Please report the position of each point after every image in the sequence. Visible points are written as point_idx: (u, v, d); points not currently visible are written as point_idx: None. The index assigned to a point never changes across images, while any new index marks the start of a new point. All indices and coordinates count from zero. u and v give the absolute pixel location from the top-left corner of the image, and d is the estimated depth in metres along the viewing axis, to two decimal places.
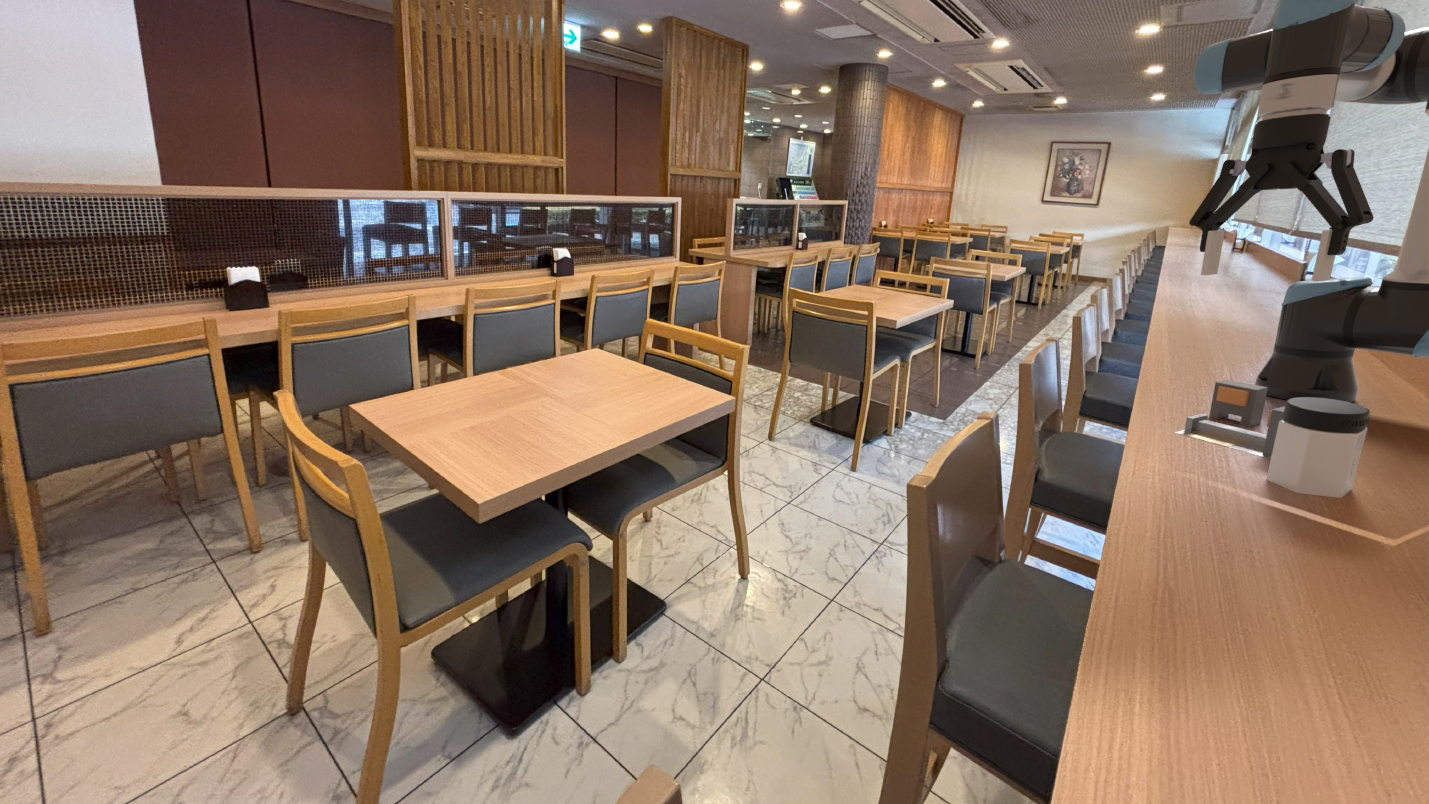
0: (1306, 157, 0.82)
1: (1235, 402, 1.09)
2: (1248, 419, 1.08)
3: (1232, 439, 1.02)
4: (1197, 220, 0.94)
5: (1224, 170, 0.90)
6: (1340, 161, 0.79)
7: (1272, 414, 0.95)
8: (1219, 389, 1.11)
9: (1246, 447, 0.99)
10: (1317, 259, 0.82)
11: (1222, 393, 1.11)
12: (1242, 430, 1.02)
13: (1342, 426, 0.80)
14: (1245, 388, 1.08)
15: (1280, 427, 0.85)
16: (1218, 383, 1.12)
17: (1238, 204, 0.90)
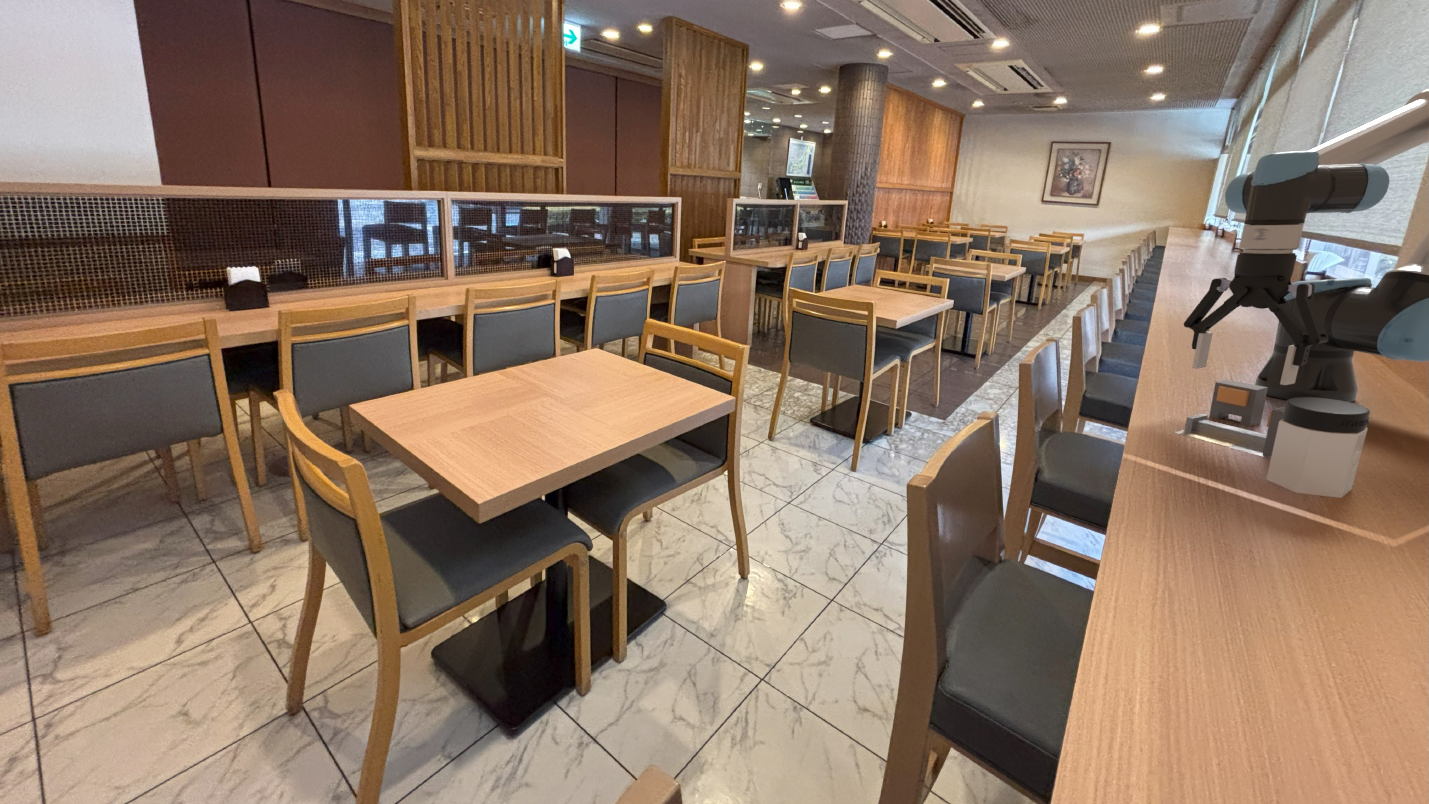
0: (1277, 286, 1.02)
1: (1235, 402, 1.09)
2: (1248, 419, 1.08)
3: (1232, 439, 1.02)
4: (1190, 323, 1.15)
5: (1212, 286, 1.11)
6: (1303, 293, 0.99)
7: (1272, 414, 0.95)
8: (1219, 389, 1.11)
9: (1246, 447, 0.99)
10: (1284, 367, 1.02)
11: (1222, 393, 1.11)
12: (1242, 430, 1.02)
13: (1342, 426, 0.80)
14: (1245, 388, 1.08)
15: (1280, 427, 0.85)
16: (1218, 383, 1.12)
17: (1223, 314, 1.11)
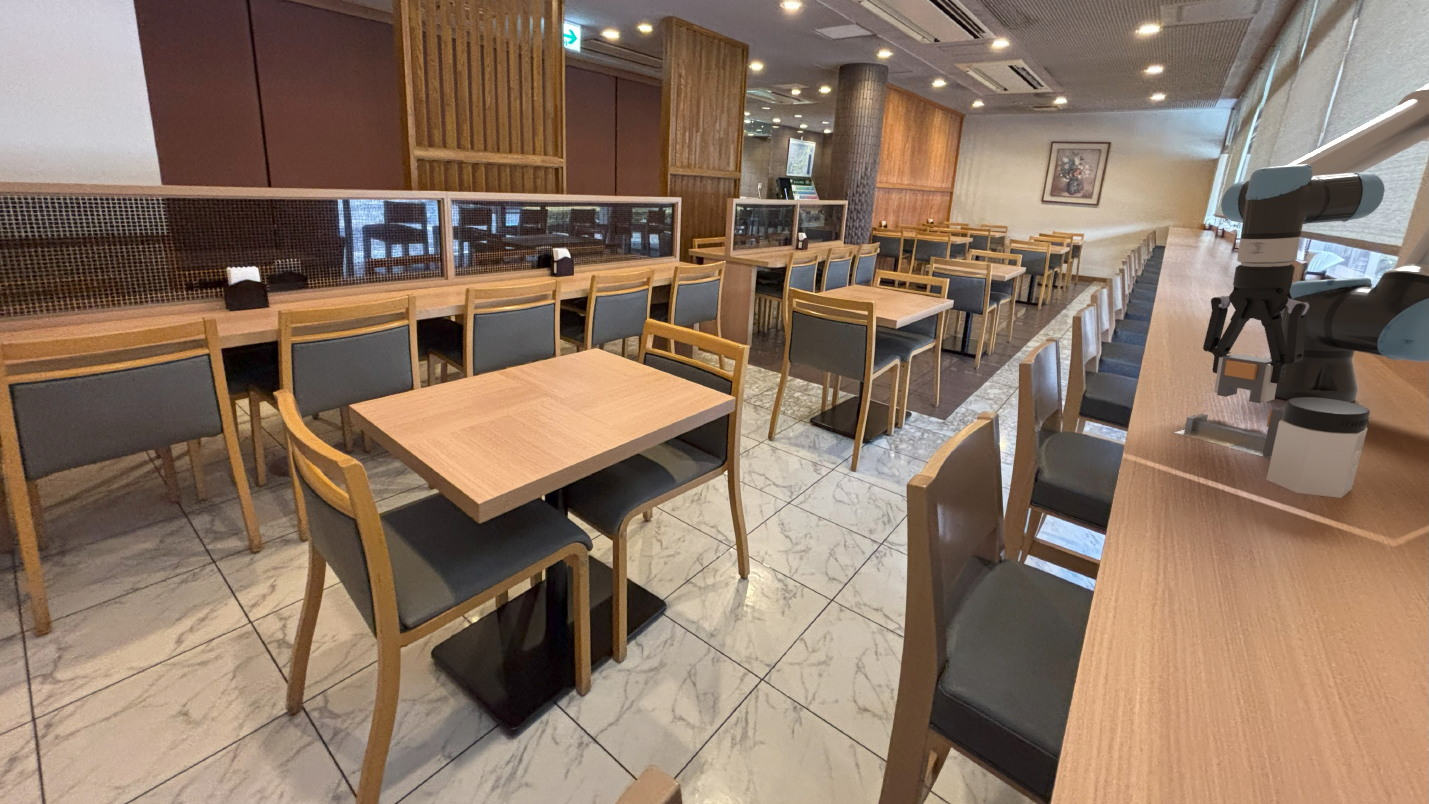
0: (1277, 298, 1.03)
1: (1244, 376, 1.08)
2: (1257, 392, 1.07)
3: (1232, 439, 1.02)
4: (1209, 346, 1.13)
5: (1214, 305, 1.11)
6: (1297, 313, 1.00)
7: (1272, 414, 0.95)
8: (1227, 363, 1.10)
9: (1246, 447, 0.99)
10: (1263, 385, 1.06)
11: (1230, 367, 1.10)
12: (1242, 430, 1.02)
13: (1342, 426, 0.80)
14: (1253, 361, 1.07)
15: (1280, 427, 0.85)
16: (1226, 357, 1.11)
17: (1236, 332, 1.10)
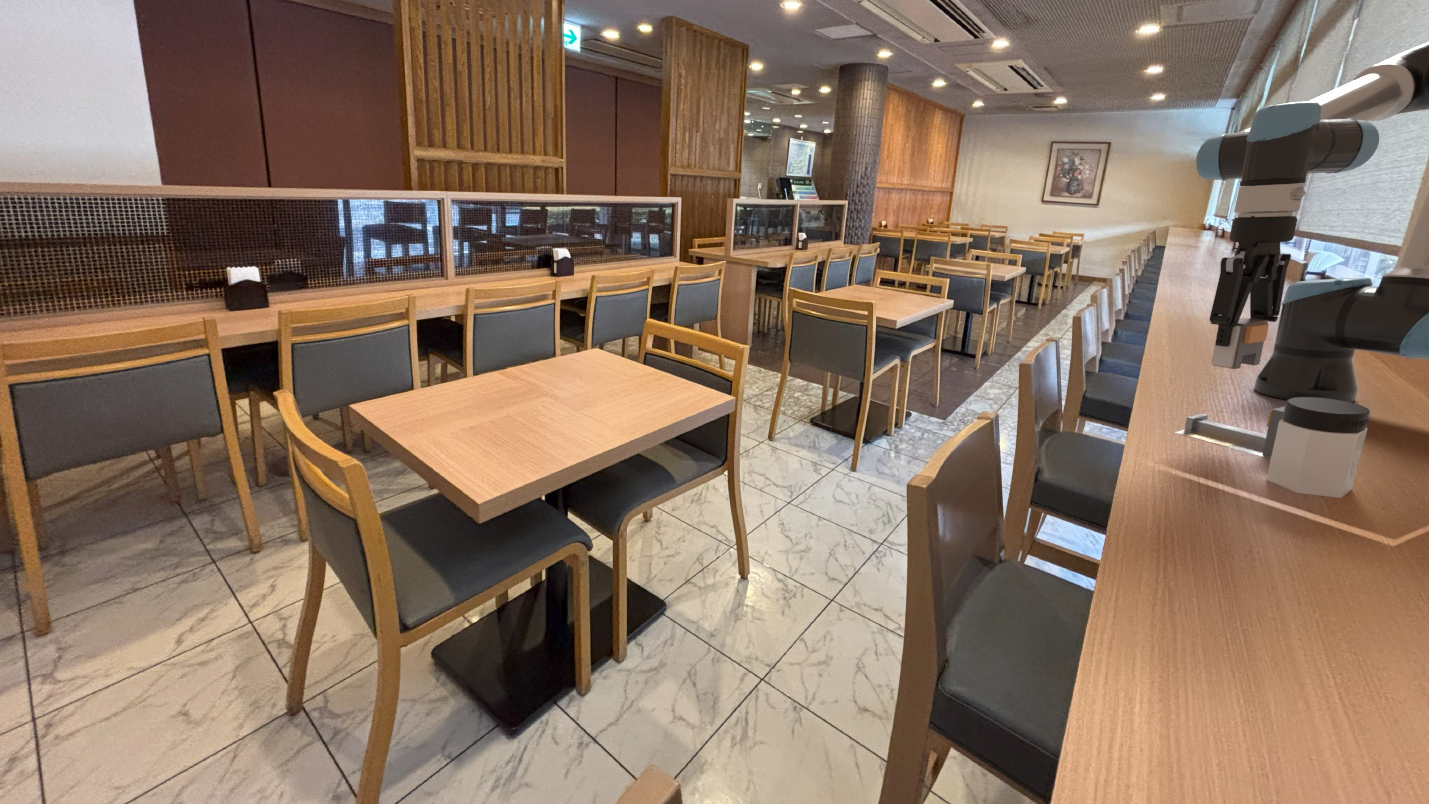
0: (1278, 251, 0.96)
1: (1260, 339, 0.98)
2: (1260, 353, 1.00)
3: (1232, 439, 1.02)
4: (1231, 317, 0.95)
5: (1240, 268, 0.93)
6: (1287, 264, 0.98)
7: (1272, 414, 0.95)
8: (1252, 330, 0.96)
9: (1246, 447, 0.99)
10: None
11: (1253, 333, 0.97)
12: (1242, 430, 1.02)
13: (1342, 426, 0.80)
14: (1260, 321, 0.98)
15: (1280, 427, 0.85)
16: (1245, 324, 0.97)
17: None
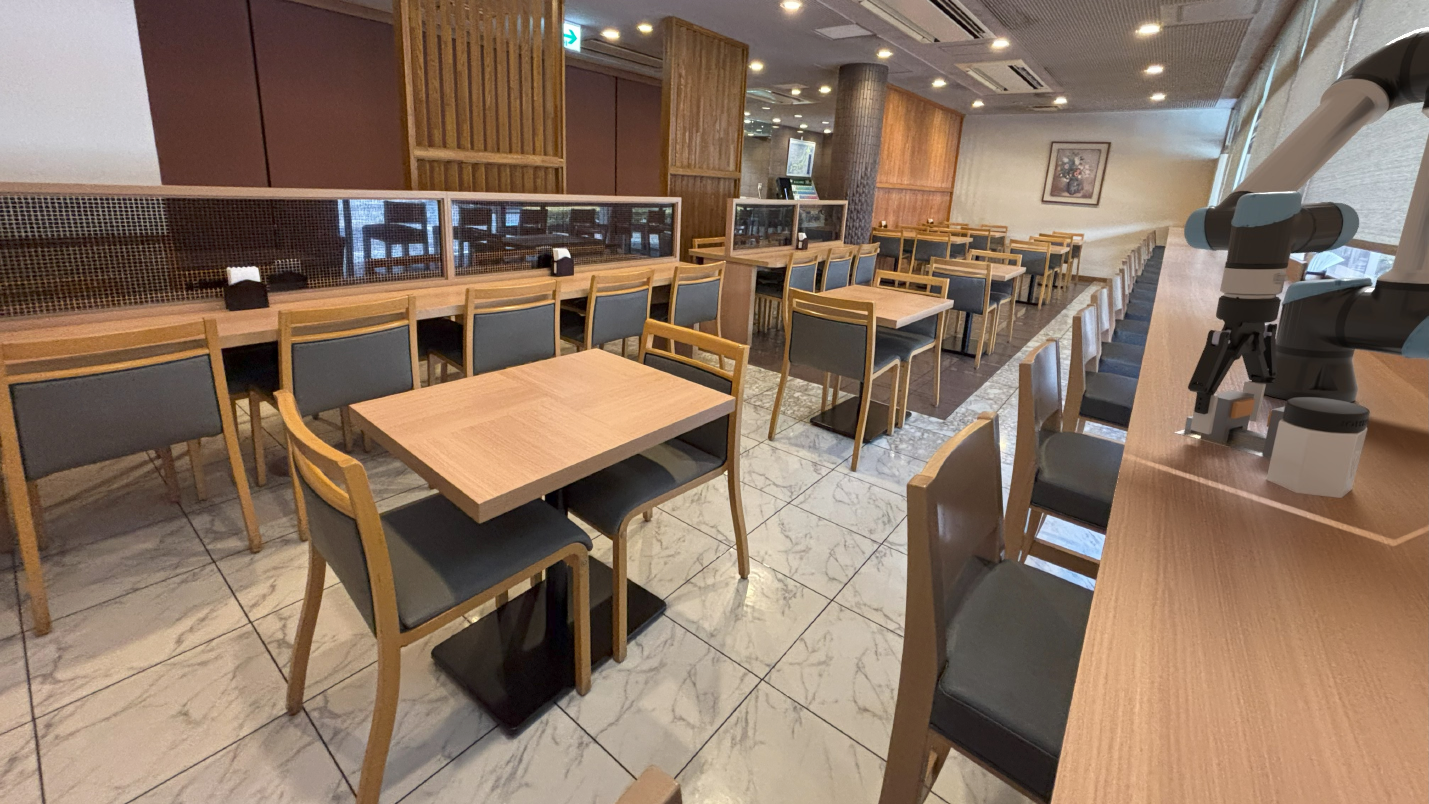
0: (1262, 328, 1.00)
1: (1247, 413, 1.01)
2: (1246, 425, 1.04)
3: (1232, 439, 1.02)
4: (1209, 387, 0.98)
5: (1225, 341, 0.96)
6: (1275, 332, 1.01)
7: (1272, 414, 0.95)
8: (1238, 406, 1.00)
9: (1246, 447, 0.99)
10: (1259, 405, 1.04)
11: (1240, 409, 1.00)
12: (1242, 430, 1.02)
13: (1342, 426, 0.80)
14: (1247, 396, 1.02)
15: (1280, 427, 0.85)
16: (1231, 400, 1.00)
17: None
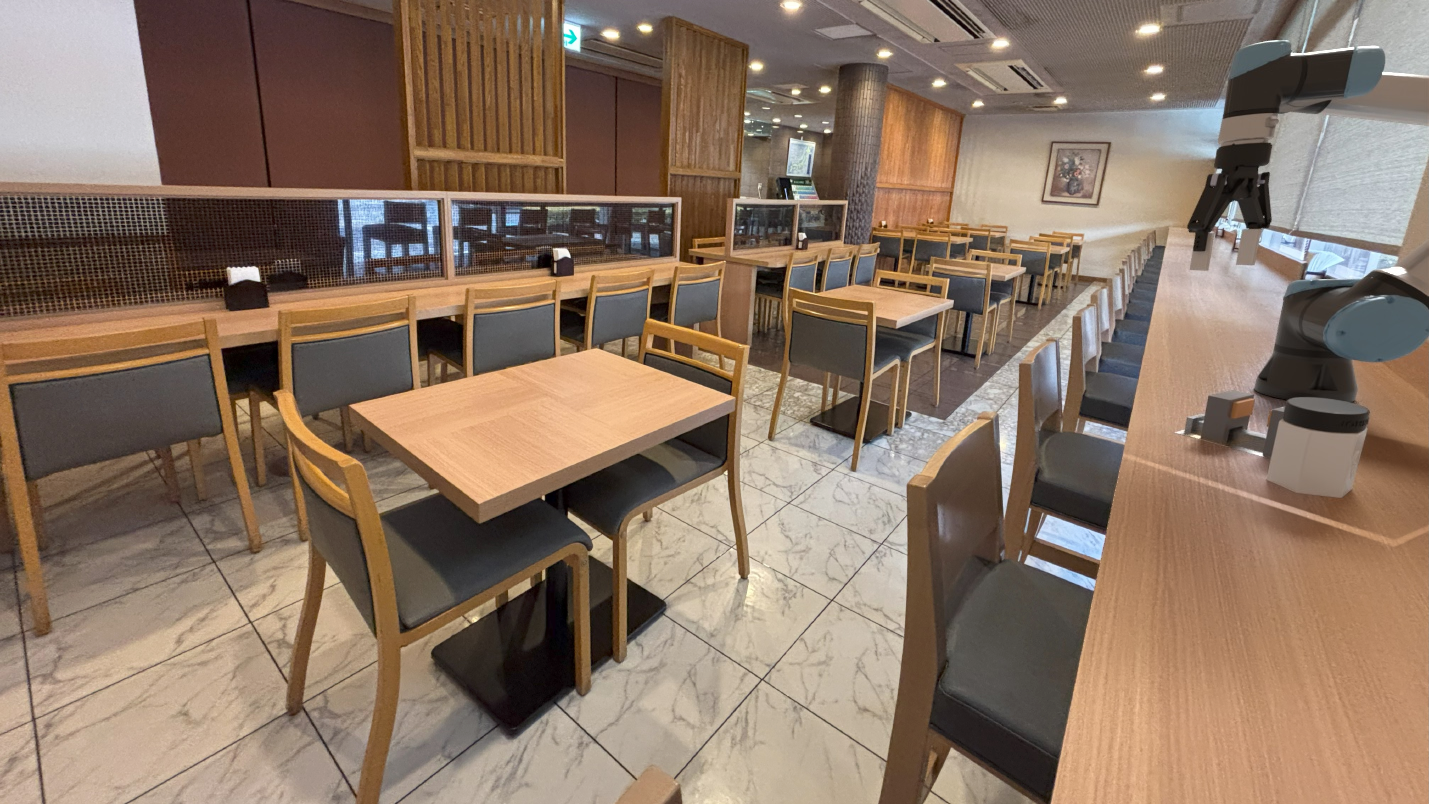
0: (1256, 175, 1.10)
1: (1247, 413, 1.01)
2: (1246, 425, 1.04)
3: (1232, 439, 1.02)
4: (1206, 224, 1.08)
5: (1222, 181, 1.07)
6: (1268, 180, 1.11)
7: (1272, 414, 0.95)
8: (1238, 406, 1.00)
9: (1246, 447, 0.99)
10: (1255, 249, 1.15)
11: (1240, 409, 1.00)
12: (1242, 430, 1.02)
13: (1342, 426, 0.80)
14: (1247, 396, 1.02)
15: (1280, 427, 0.85)
16: (1231, 400, 1.00)
17: None
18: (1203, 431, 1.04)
